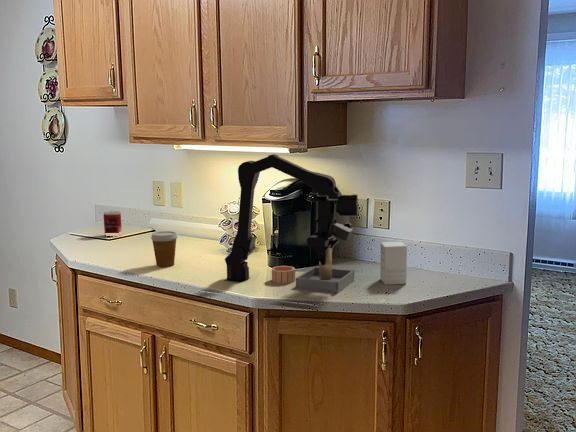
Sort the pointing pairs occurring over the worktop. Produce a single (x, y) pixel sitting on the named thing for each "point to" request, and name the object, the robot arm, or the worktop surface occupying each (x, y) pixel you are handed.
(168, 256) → the disposable coffee cup
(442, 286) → the worktop surface
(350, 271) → the tray
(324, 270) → the dowel
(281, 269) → the pink short hollow cylinder
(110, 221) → the canned food
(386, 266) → the supplement box
